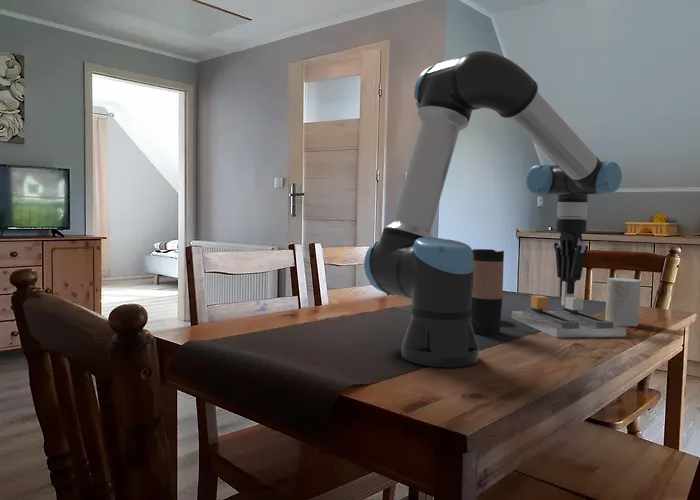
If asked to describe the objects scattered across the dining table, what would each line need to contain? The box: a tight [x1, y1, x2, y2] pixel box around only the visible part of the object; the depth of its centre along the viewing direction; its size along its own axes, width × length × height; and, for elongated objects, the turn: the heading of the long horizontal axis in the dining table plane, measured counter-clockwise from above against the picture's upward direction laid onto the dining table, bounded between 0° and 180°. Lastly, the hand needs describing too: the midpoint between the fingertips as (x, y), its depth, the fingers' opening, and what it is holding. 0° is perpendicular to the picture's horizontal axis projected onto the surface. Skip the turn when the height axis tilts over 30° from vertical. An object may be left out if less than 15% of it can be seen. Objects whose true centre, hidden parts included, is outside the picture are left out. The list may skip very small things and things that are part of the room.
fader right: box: [564, 296, 584, 315], centre depth 149 cm, size 3×4×5 cm
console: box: [511, 307, 627, 339], centre depth 145 cm, size 18×24×3 cm
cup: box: [604, 277, 642, 327], centre depth 152 cm, size 8×8×12 cm
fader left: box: [529, 295, 549, 313], centre depth 150 cm, size 3×4×5 cm
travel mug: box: [471, 248, 505, 336], centre depth 136 cm, size 8×8×20 cm
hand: (567, 305), depth 153 cm, fingers closed
